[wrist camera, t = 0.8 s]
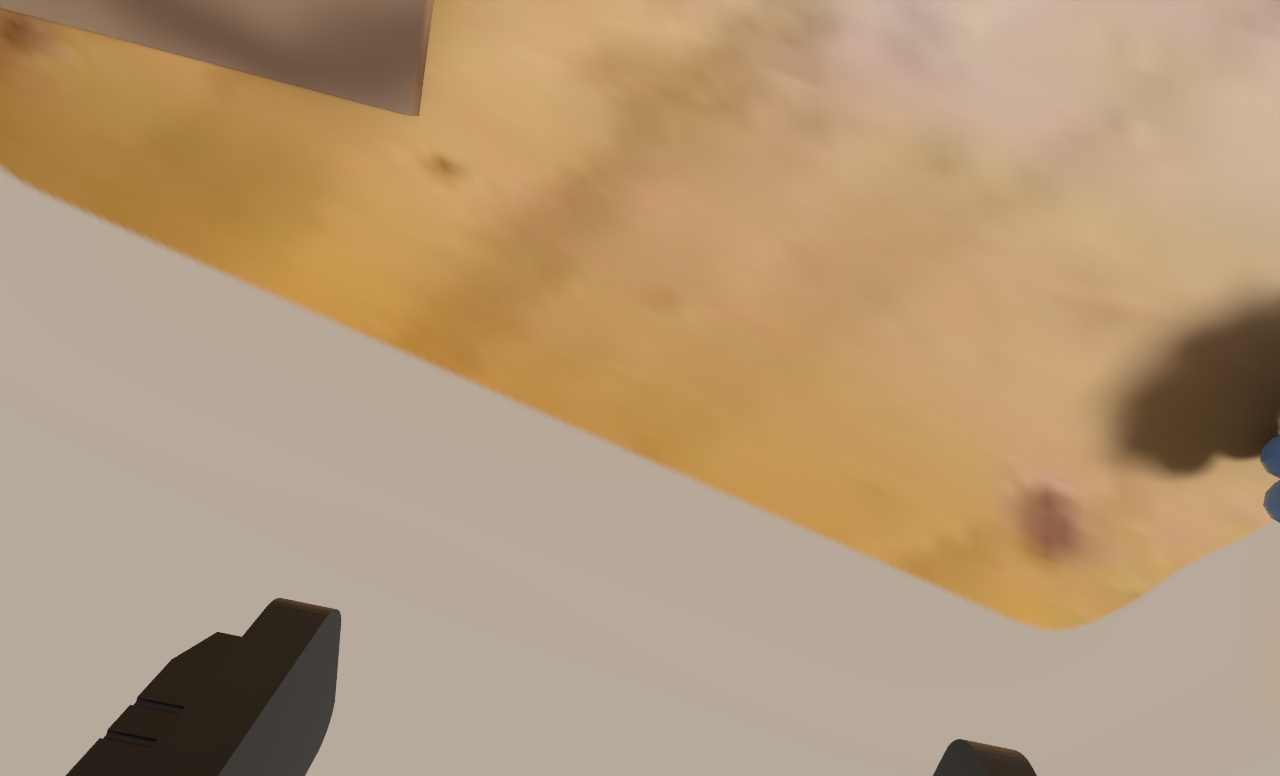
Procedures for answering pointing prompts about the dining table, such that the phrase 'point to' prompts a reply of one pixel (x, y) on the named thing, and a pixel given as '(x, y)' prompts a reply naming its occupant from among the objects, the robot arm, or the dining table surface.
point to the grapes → (1276, 460)
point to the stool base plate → (275, 39)
